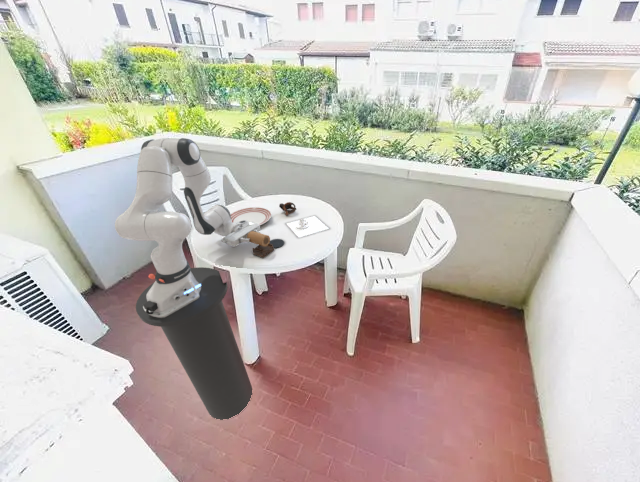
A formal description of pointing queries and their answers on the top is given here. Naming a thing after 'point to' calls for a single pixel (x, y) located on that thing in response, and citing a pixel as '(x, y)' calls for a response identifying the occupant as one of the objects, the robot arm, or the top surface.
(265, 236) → the paper roll
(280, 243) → the coaster
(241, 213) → the dinner plate
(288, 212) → the brown openwork ring figurine
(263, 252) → the roll stand
